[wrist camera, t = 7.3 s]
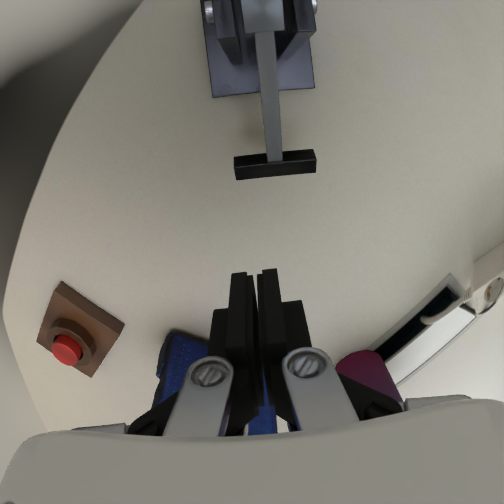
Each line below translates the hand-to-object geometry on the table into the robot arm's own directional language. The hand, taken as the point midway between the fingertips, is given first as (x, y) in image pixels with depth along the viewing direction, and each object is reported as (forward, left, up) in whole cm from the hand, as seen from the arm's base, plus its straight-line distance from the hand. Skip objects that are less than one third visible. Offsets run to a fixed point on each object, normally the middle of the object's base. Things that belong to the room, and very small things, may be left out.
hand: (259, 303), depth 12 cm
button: (-26, -17, -17) cm, 36 cm away
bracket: (+2, +13, -20) cm, 24 cm away
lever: (+2, +8, -12) cm, 15 cm away
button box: (-26, -17, -20) cm, 37 cm away
